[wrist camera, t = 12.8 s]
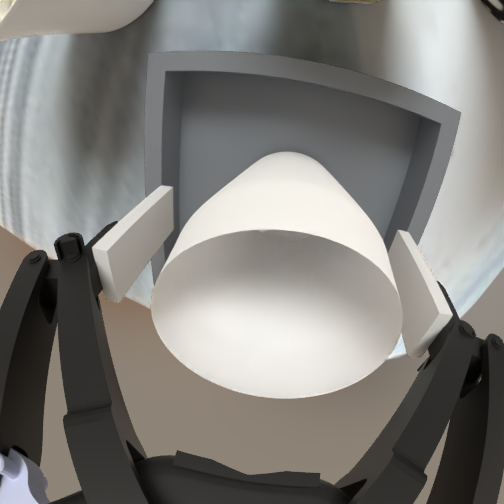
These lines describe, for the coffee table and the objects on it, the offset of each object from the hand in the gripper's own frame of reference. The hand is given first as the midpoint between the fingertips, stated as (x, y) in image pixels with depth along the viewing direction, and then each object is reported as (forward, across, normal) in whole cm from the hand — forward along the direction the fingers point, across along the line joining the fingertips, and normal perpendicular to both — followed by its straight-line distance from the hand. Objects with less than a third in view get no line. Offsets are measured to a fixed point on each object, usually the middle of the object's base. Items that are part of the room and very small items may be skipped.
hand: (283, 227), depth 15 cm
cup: (+5, 0, 0) cm, 5 cm away
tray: (+6, 0, 0) cm, 6 cm away
